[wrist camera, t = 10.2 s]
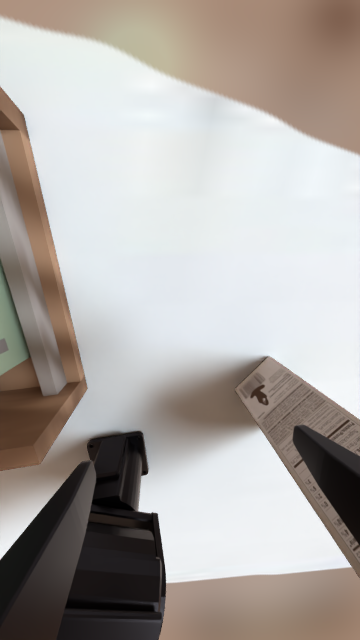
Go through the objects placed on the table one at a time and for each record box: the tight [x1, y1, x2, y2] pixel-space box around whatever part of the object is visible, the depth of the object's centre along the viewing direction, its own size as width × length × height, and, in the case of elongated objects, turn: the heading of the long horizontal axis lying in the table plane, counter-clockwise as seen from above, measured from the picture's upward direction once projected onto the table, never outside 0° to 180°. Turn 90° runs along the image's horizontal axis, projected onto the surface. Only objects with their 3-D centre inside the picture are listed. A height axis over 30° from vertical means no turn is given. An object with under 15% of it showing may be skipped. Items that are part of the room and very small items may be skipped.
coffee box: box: [235, 356, 360, 578], centre depth 15 cm, size 9×6×16 cm
